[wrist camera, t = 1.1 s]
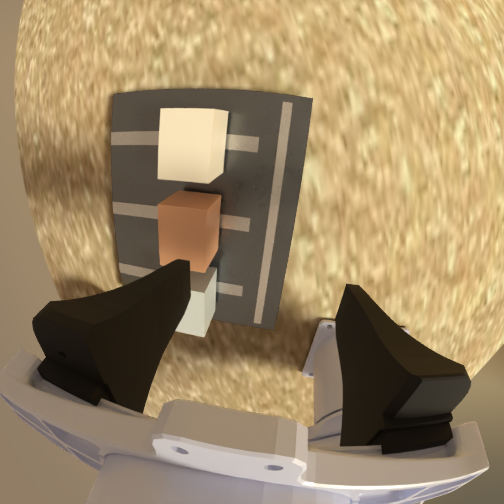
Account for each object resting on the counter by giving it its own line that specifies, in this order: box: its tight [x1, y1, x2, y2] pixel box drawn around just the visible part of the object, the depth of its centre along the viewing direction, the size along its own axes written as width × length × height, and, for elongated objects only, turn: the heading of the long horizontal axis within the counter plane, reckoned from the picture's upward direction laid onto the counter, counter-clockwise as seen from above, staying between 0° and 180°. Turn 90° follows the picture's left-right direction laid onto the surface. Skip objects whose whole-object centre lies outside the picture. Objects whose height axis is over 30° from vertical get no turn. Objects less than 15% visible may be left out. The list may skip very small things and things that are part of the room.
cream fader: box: [158, 108, 229, 184], centre depth 15 cm, size 3×4×3 cm
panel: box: [111, 89, 313, 330], centre depth 20 cm, size 14×18×2 cm
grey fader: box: [175, 266, 217, 337], centre depth 20 cm, size 3×4×3 cm
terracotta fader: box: [158, 190, 221, 273], centre depth 18 cm, size 3×4×3 cm
